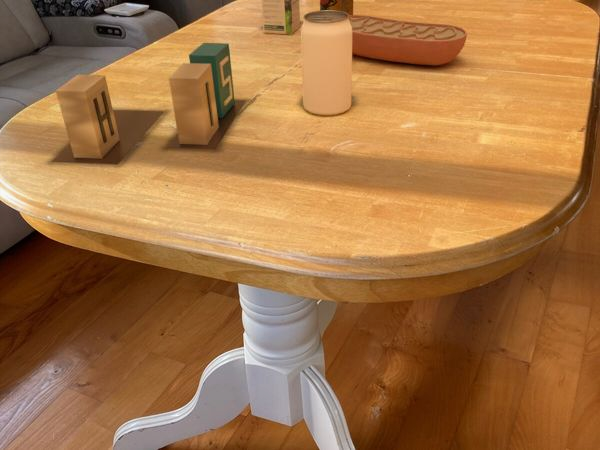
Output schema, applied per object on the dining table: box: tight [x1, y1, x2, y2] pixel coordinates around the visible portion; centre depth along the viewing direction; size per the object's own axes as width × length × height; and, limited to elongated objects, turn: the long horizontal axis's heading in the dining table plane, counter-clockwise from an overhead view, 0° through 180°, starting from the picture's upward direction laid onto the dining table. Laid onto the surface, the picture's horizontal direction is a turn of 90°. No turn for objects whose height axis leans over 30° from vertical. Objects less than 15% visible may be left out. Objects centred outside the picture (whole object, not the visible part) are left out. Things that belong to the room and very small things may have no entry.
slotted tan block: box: [166, 62, 247, 151], centre depth 71 cm, size 6×15×9 cm, turn 171°
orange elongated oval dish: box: [348, 14, 468, 67], centre depth 93 cm, size 23×10×5 cm, turn 59°
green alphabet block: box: [188, 42, 236, 118], centre depth 74 cm, size 4×5×8 cm
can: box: [300, 10, 353, 117], centre depth 75 cm, size 6×6×12 cm
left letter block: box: [51, 74, 165, 166], centre depth 69 cm, size 8×15×9 cm, turn 171°
